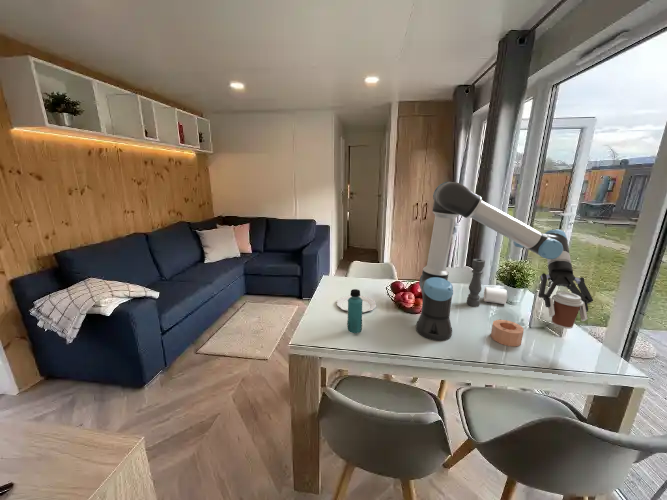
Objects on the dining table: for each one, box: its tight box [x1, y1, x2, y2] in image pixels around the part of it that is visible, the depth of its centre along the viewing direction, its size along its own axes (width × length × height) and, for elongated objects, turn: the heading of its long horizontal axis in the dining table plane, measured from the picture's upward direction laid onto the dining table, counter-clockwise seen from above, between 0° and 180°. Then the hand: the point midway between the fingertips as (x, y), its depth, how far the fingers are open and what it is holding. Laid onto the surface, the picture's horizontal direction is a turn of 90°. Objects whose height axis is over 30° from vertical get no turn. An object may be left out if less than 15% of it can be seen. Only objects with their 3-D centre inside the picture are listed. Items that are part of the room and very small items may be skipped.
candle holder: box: [466, 258, 486, 308], centre depth 149 cm, size 6×6×25 cm
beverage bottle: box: [346, 288, 363, 334], centre depth 121 cm, size 6×7×20 cm
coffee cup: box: [551, 291, 584, 329], centre depth 105 cm, size 9×9×12 cm
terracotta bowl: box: [490, 319, 525, 347], centre depth 118 cm, size 11×11×6 cm
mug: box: [483, 286, 508, 305], centre depth 156 cm, size 12×10×8 cm
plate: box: [336, 295, 377, 314], centre depth 150 cm, size 21×21×2 cm
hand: (568, 317), depth 103 cm, fingers closed on coffee cup, 9 cm apart
